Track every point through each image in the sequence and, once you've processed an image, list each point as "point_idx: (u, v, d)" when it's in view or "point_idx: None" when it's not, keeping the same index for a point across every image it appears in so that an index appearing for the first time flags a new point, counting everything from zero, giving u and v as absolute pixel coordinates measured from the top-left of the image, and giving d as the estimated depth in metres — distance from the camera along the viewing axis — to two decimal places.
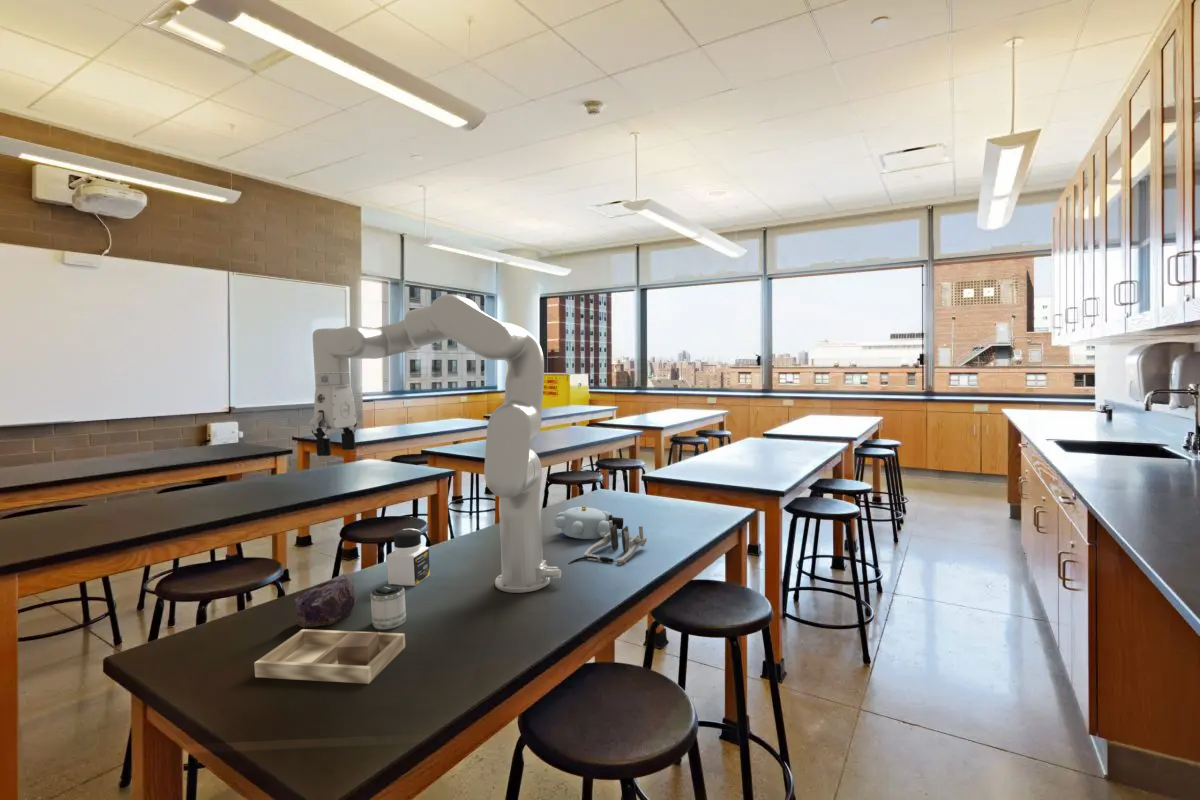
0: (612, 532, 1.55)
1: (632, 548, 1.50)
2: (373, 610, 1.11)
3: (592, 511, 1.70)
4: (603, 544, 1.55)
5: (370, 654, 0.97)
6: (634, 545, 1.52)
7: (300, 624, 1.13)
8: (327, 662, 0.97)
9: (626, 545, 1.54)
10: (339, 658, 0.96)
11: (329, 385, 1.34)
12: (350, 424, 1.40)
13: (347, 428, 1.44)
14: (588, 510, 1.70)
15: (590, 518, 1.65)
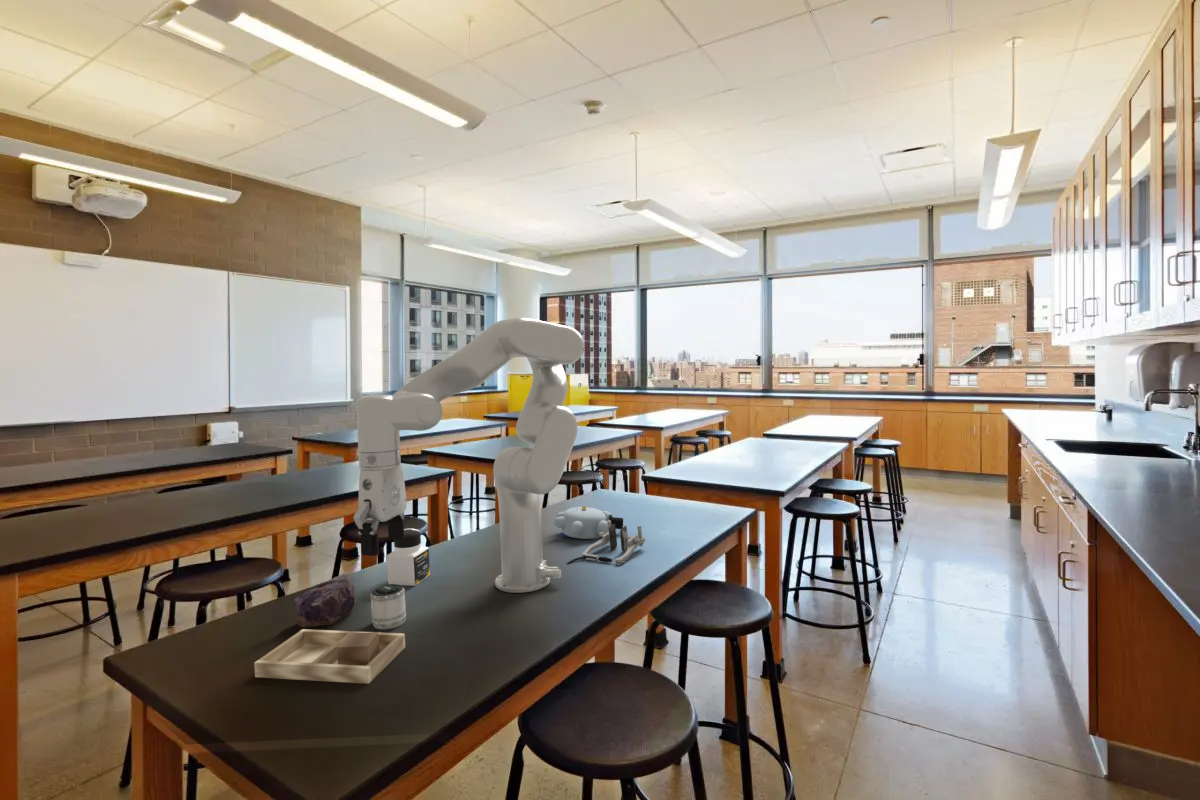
0: (611, 532, 1.55)
1: (631, 548, 1.50)
2: (373, 610, 1.11)
3: (592, 511, 1.70)
4: (602, 544, 1.55)
5: (370, 654, 0.97)
6: (633, 545, 1.52)
7: (300, 624, 1.13)
8: (327, 662, 0.97)
9: (625, 545, 1.54)
10: (339, 658, 0.96)
11: (377, 467, 1.08)
12: (400, 511, 1.13)
13: None
14: (588, 510, 1.70)
15: (589, 518, 1.65)
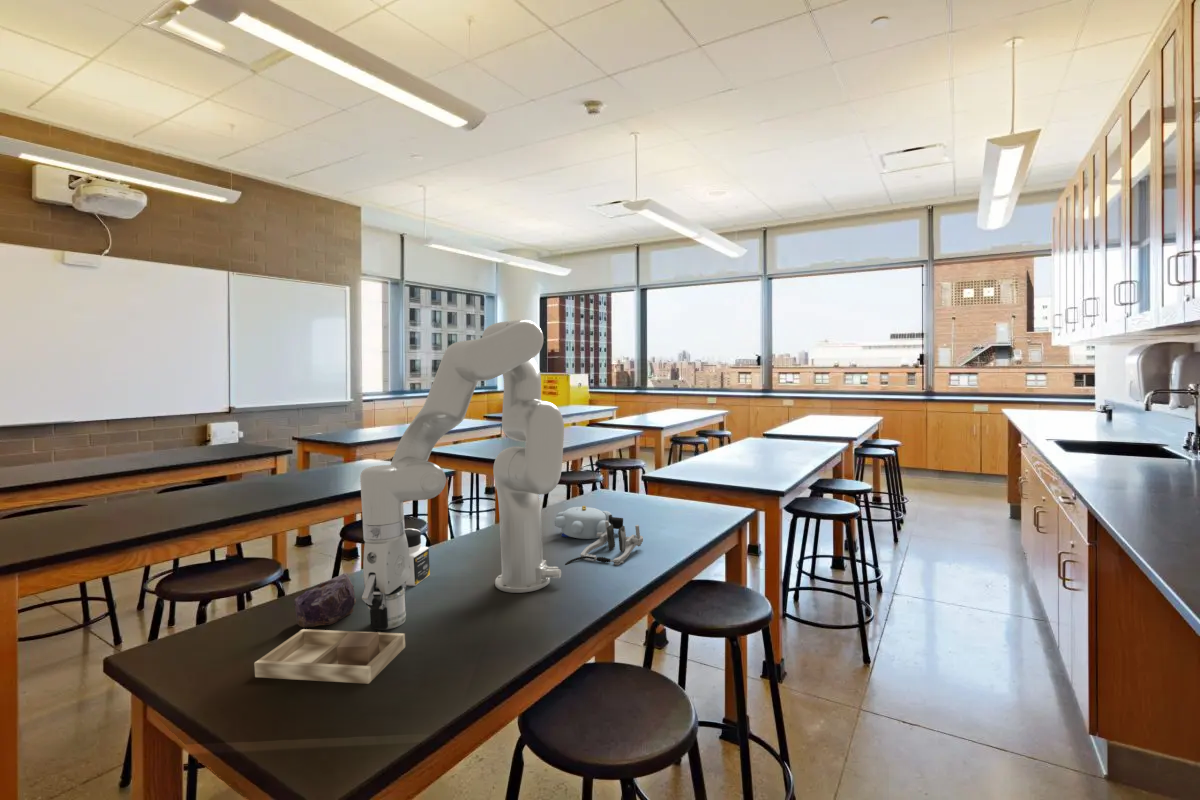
0: (609, 532, 1.55)
1: (629, 548, 1.50)
2: None
3: (592, 511, 1.70)
4: (600, 544, 1.55)
5: (370, 654, 0.97)
6: (631, 545, 1.52)
7: (300, 624, 1.13)
8: (327, 662, 0.97)
9: (623, 545, 1.54)
10: (339, 658, 0.96)
11: (382, 540, 1.09)
12: (405, 580, 1.14)
13: None
14: (588, 510, 1.71)
15: (589, 518, 1.66)
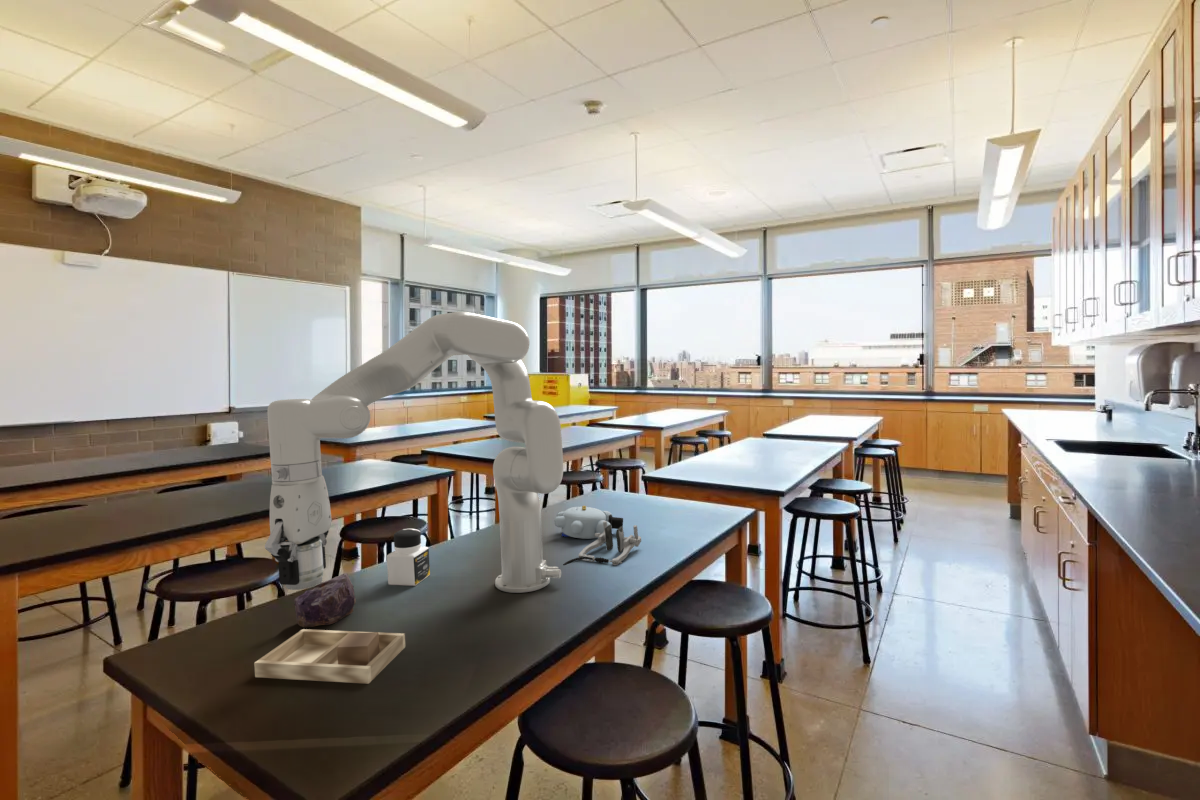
0: (607, 532, 1.55)
1: (627, 548, 1.50)
2: None
3: (592, 511, 1.70)
4: (598, 545, 1.55)
5: (370, 654, 0.97)
6: (629, 545, 1.51)
7: (300, 624, 1.13)
8: (327, 662, 0.97)
9: (621, 545, 1.54)
10: (339, 658, 0.96)
11: (291, 482, 0.94)
12: (322, 531, 1.00)
13: None
14: (588, 510, 1.71)
15: (589, 517, 1.66)
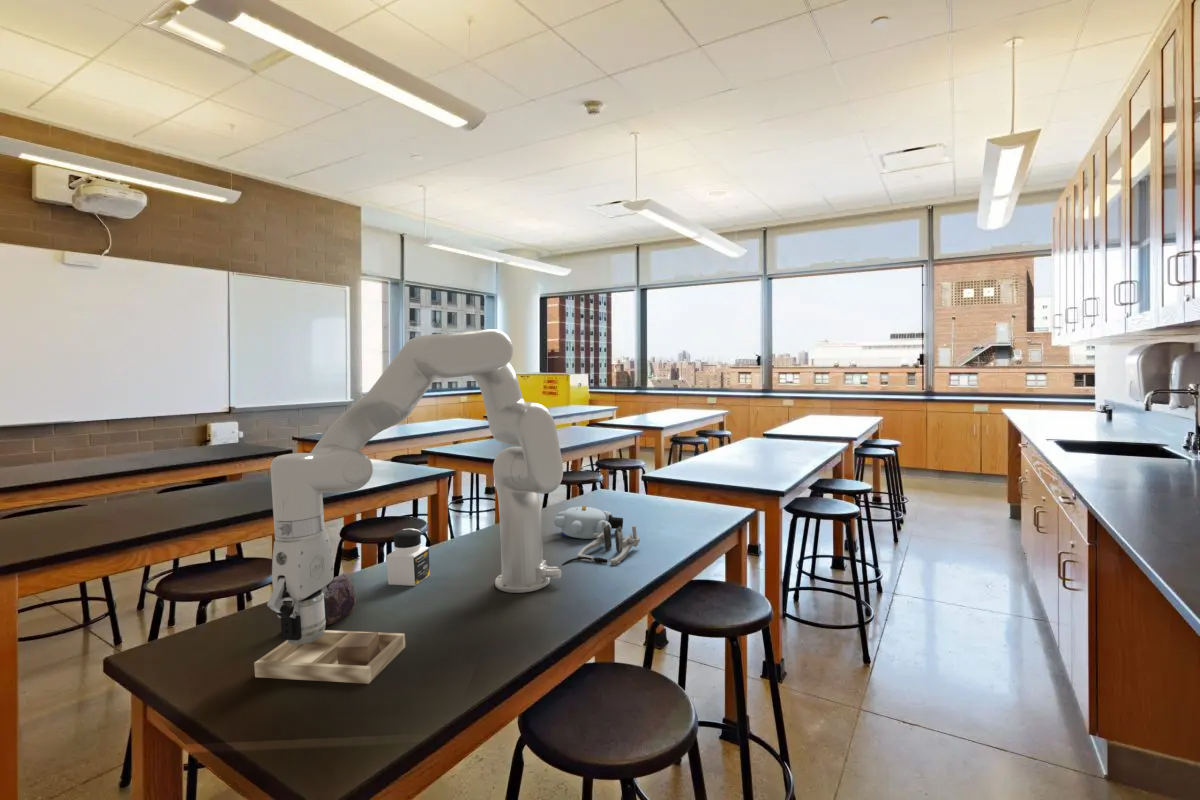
0: (605, 532, 1.54)
1: (626, 548, 1.50)
2: None
3: (592, 511, 1.70)
4: (596, 545, 1.55)
5: (370, 654, 0.97)
6: (628, 545, 1.51)
7: None
8: (327, 662, 0.97)
9: (619, 545, 1.53)
10: (339, 658, 0.96)
11: (293, 538, 0.95)
12: (324, 584, 1.00)
13: None
14: (588, 510, 1.71)
15: (589, 517, 1.66)
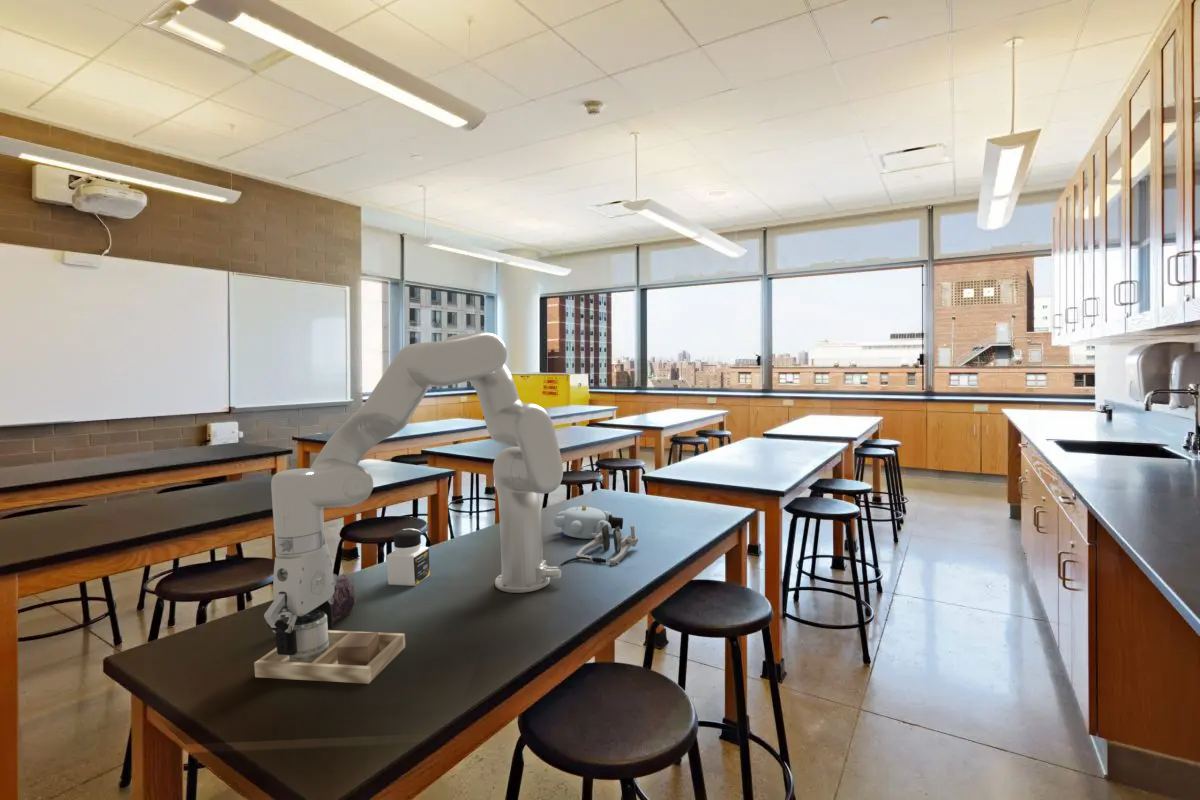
0: (604, 532, 1.54)
1: (624, 548, 1.50)
2: None
3: (592, 511, 1.70)
4: (595, 545, 1.54)
5: (370, 654, 0.97)
6: (626, 545, 1.51)
7: None
8: (327, 662, 0.97)
9: (618, 545, 1.53)
10: (339, 658, 0.96)
11: (294, 554, 0.95)
12: (325, 599, 1.00)
13: None
14: (588, 510, 1.71)
15: (589, 517, 1.66)
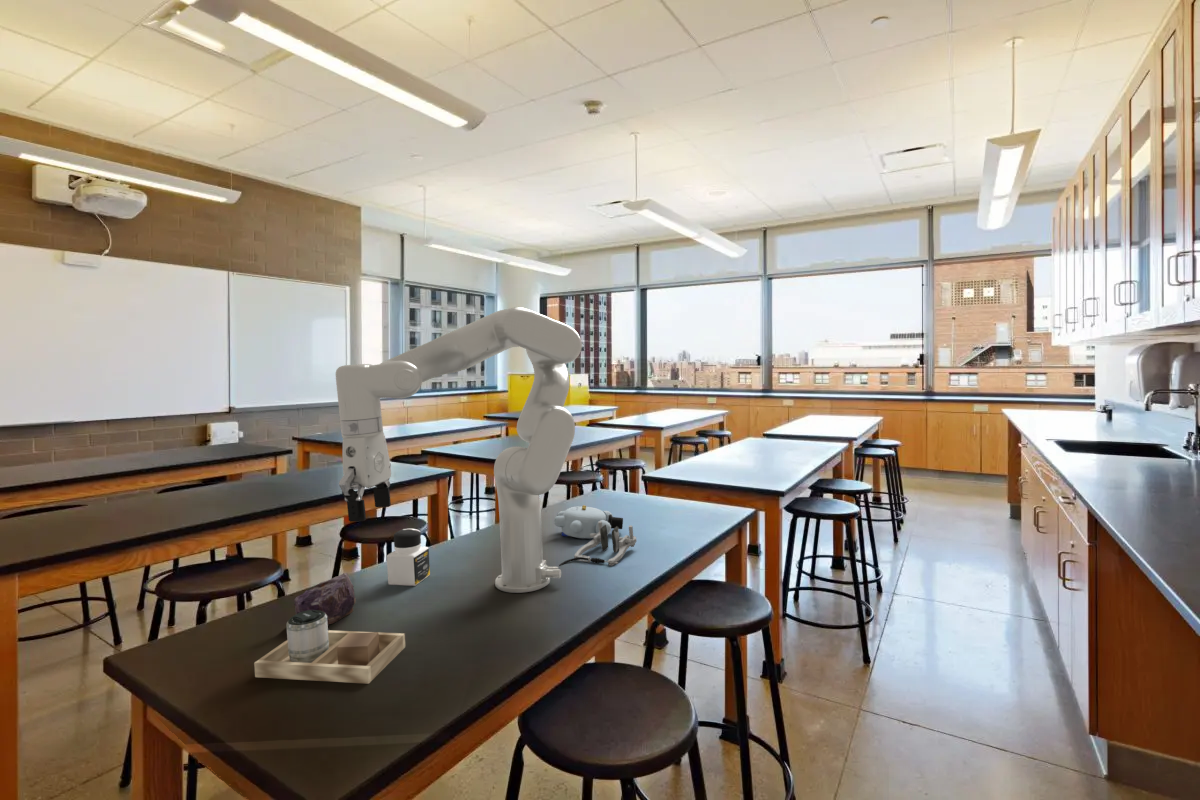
0: (602, 533, 1.54)
1: (623, 548, 1.50)
2: (288, 641, 0.97)
3: (592, 511, 1.70)
4: (593, 545, 1.54)
5: (370, 654, 0.97)
6: (624, 545, 1.51)
7: None
8: (327, 662, 0.97)
9: (616, 546, 1.53)
10: (339, 658, 0.96)
11: (360, 435, 1.09)
12: (385, 478, 1.15)
13: None
14: (588, 509, 1.71)
15: (588, 517, 1.66)
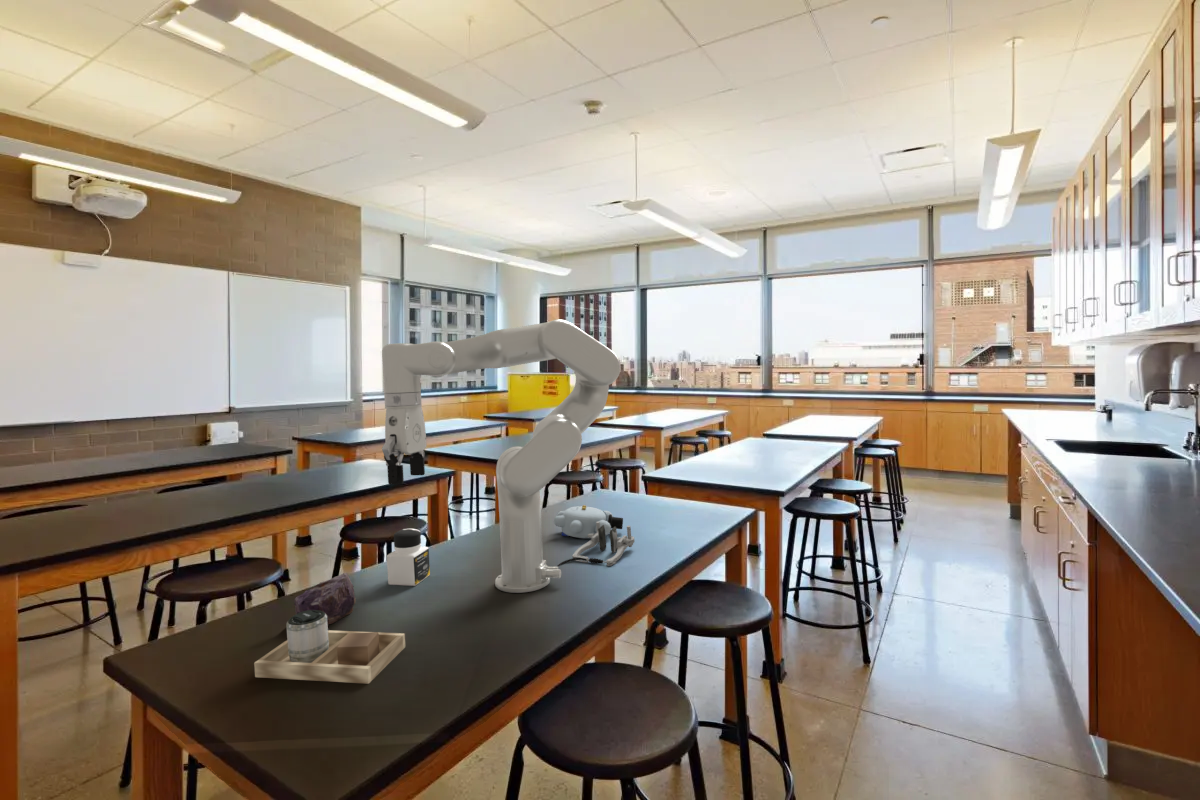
0: (600, 533, 1.54)
1: (621, 549, 1.50)
2: (288, 641, 0.97)
3: (592, 510, 1.70)
4: (591, 545, 1.54)
5: (370, 654, 0.97)
6: (623, 546, 1.51)
7: None
8: (327, 662, 0.97)
9: (614, 546, 1.53)
10: (339, 658, 0.96)
11: (401, 406, 1.21)
12: (421, 448, 1.27)
13: (416, 452, 1.31)
14: (588, 509, 1.71)
15: (588, 517, 1.66)
